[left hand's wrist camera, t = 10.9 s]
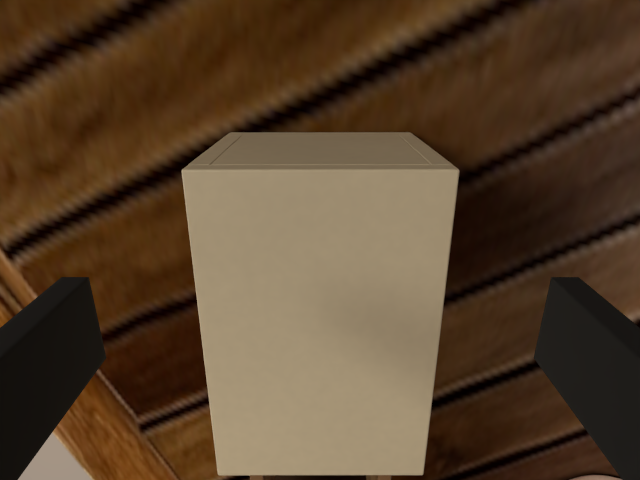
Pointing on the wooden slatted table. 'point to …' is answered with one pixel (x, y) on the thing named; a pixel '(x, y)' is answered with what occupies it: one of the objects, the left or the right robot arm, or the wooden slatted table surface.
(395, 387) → the cabinet
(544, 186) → the wooden slatted table surface
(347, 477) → the drawer
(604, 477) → the anatomical model
